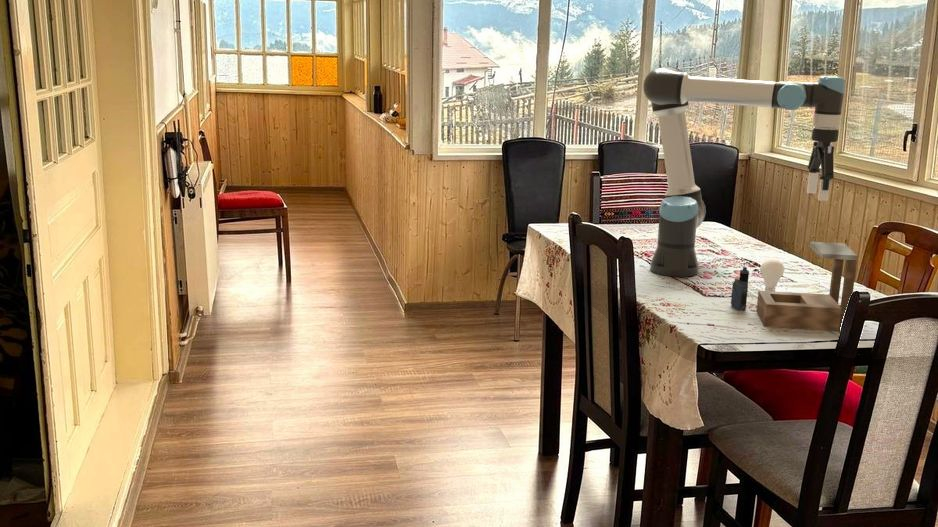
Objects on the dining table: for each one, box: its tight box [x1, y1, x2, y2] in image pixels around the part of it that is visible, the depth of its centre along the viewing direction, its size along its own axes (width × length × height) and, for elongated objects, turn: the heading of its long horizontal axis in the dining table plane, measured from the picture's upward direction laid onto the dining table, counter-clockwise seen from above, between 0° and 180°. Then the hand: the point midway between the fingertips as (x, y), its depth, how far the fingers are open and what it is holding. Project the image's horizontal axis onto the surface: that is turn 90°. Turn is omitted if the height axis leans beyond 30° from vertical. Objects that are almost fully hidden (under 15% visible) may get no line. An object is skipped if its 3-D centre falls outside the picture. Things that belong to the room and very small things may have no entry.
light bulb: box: [759, 257, 785, 292], centre depth 253 cm, size 7×7×11 cm
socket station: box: [756, 241, 859, 332], centre depth 227 cm, size 20×14×20 cm
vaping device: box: [730, 266, 750, 311], centre depth 239 cm, size 3×5×12 cm, turn 16°
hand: (816, 196), depth 270 cm, fingers open, 13 cm apart
